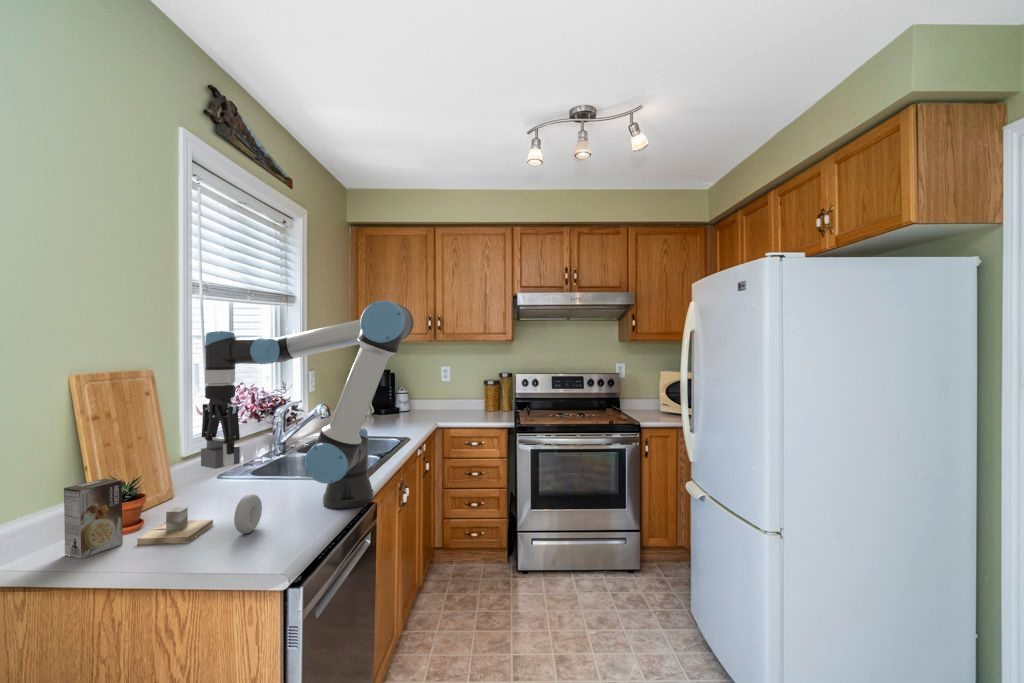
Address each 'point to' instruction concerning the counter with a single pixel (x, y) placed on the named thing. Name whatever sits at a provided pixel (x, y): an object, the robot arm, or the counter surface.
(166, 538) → the base
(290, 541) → the counter surface
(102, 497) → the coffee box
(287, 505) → the counter surface
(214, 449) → the knob
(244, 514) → the upright grey disc
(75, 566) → the counter surface
